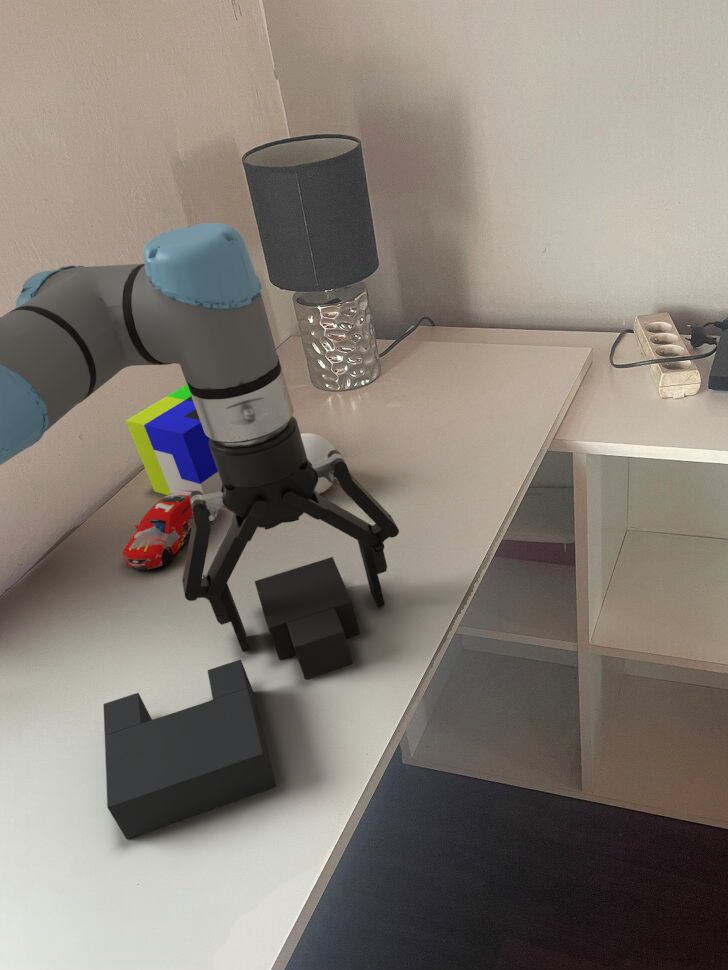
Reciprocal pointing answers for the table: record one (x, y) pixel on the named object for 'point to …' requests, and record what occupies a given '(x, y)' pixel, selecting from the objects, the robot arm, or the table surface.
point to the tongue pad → (310, 616)
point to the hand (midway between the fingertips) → (312, 620)
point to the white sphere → (318, 455)
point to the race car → (160, 532)
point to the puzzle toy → (175, 446)
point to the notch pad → (184, 755)
